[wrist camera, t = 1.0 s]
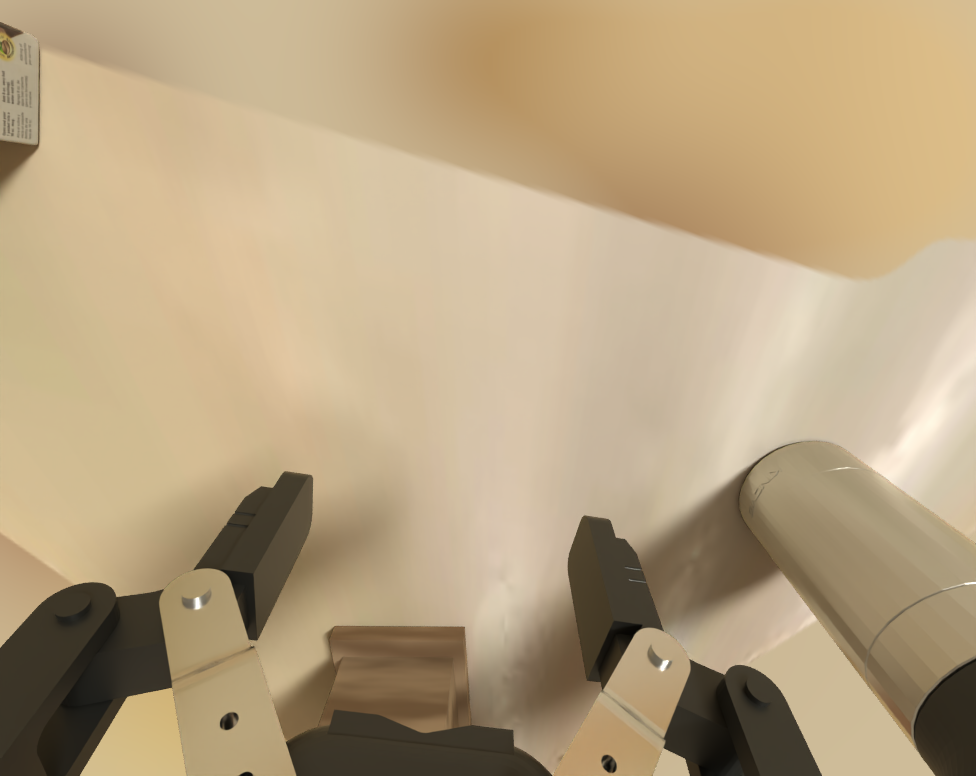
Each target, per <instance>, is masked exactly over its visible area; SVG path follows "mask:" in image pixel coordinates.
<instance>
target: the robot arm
mask: <svg viewBox="0 0 976 776" xmlns="http://www.w3.org/2000/svg"><path fill="white" fill-rule="evenodd" d="M312 503H313V477H312V475H307V474H300V473H294V472H287V471H285V472H284V473H283V474H282V475H281V477H280V478H279V480H278V481H277V483H276V484H275V486H274V487H273V488H269V487H262V486H261V487H260V488H258V489H257V490H255V491H254V492H252V493H251V494H249V495H248V496H246V497H245V498H244V500H243V501H242V503H241V504H240V505H239V507H238V508H237V510H236V511H235V514H233V515H232V517H231V518H230V519H229V521H228V522H227V525H226V526H224V528H223V529H222V531H221V532H220V533H219V535H218V536H217V538H216V539H215V540H214V542H213V543H212V545H211V546H210V548H209V549H208V550H207V552H206V553H205V555H204V556H203V557H202V559H201V560H200V562H199V563H198V564H197V566H196V567H195V568H194V570H193V571H190V572H187V573H185V574H183V575H181V576H179V577H177V578H176V579H174V580H173V581H172V582H171V583H169V585H168V586H167V587H166V588H165V589H163V590H160V591H156V592H151V593H145V594H137V595H130V596H122V597H116V594H115V592H114V590H113V589H112V588H111V587H109V586H108V585H106V584H103V583H94V582H90V583H82V584H77V585H74V586H71V587H68V588H66V589H63V590H61V591H59V592H57V593H55V594H53V595H52V596H50V597H49V598H47V599H46V600H45V601H44V602H42V603H41V604H40V605H39V606H38V607H37V608H36V609H35V610H34V611H33V612H32V614H31V615H30V616H29V617H28V618H27V619H26V620H25V621H24V622H23V624H22V625H21V626H20V627H19V628H18V629H17V630H16V631H15V632H14V634H13V635H12V636H11V637H10V638H9V639H8V640H7V641H6V642H5V643H4V644H3V645H2V647H1V648H0V776H80V774H81V772H82V771H83V769H84V767H85V766H86V764H87V762H88V761H89V759H90V757H91V756H92V754H93V752H94V751H95V749H96V748H97V746H98V744H99V743H100V741H101V739H102V737H103V736H104V734H105V733H106V731H107V729H108V727H109V726H110V724H111V723H112V721H113V719H114V718H115V716H116V714H117V713H118V711H119V709H120V708H121V706H122V704H123V703H124V701H125V699H126V698H127V697H128V696H132V695H137V694H143V693H147V692H153V691H158V690H163V689H167V688H172V689H173V694H174V701H175V707H176V713H177V719H178V725H179V732H180V738H181V744H182V750H183V756H184V762H185V768H186V774H187V776H552V775H551V774H550V772H549V771H548V770H547V769H546V768H545V767H544V766H543V765H542V764H541V763H540V762H538V761H537V760H536V759H535V758H533V757H532V756H531V755H529V754H528V753H526V752H524V751H523V750H521V749H519V748H517V747H515V746H514V739H513V730H506V729H498V728H489V727H481V726H472V725H469V726H463V727H458V728H452V729H446V730H441V731H435V732H429V733H422V732H419V731H416V730H414V729H412V728H409V727H407V726H404V725H402V724H400V723H397V722H395V721H393V720H390V719H388V718H386V717H383V716H381V715H377V714H369V713H360V712H351V711H343V710H334V712H333V716H332V719H331V723H330V725H326V726H321V727H317V728H314V729H311V730H308V731H306V732H304V733H301V734H299V735H297V736H295V737H294V738H292V739H290V740H288V741H287V742H286V741H285V738H284V735H283V732H282V729H281V726H280V723H279V719H278V716H277V713H276V710H275V707H274V704H273V700H272V697H271V694H270V691H269V688H268V685H267V682H266V678H265V675H264V672H263V669H262V666H261V663H260V659H259V656H258V654H257V651H256V649H255V647H254V646H253V647H251V645H250V642H249V640H256V641H257V640H258V638H259V636H260V634H261V632H262V630H263V628H264V626H265V624H266V622H267V619H268V617H269V615H270V613H271V611H272V609H273V607H274V605H275V603H276V601H277V599H278V597H279V594H280V592H281V590H282V588H283V586H284V584H285V582H286V580H287V578H288V576H289V574H290V572H291V569H292V567H293V565H294V563H295V561H296V559H297V557H298V555H299V553H300V551H301V549H302V547H303V544H304V542H305V540H306V538H307V536H308V533H309V530H310V526H311V521H312ZM739 508H740V512H741V515H742V518H743V520H744V521H745V523H746V524H747V526H748V527H749V528H750V530H751V531H752V532H753V534H754V535H755V536H756V538H757V539H758V540H759V542H760V543H761V544H762V546H763V547H764V548H765V550H766V551H767V552H768V554H769V555H770V557H771V558H772V559H773V561H774V562H775V563H776V565H777V566H778V567H779V569H780V570H781V571H782V573H783V574H784V575H785V577H786V578H787V579H788V581H789V582H790V583H791V585H792V586H793V587H794V589H795V590H796V591H797V593H798V594H799V595H800V597H801V598H802V599H803V601H804V602H805V603H806V605H807V606H808V607H809V609H810V610H811V611H812V612H813V614H814V615H815V616H816V618H817V619H818V620H819V622H820V623H821V624H822V626H823V627H824V628H825V630H826V631H827V632H828V634H829V635H830V636H831V638H832V639H833V640H834V642H835V643H836V644H837V646H838V647H839V648H840V650H841V651H842V652H843V653H844V655H845V656H846V658H847V659H848V660H849V661H850V663H851V664H852V666H853V667H854V668H855V670H856V671H857V672H858V673H859V675H860V676H861V678H862V679H863V680H864V681H865V683H866V684H867V686H868V687H869V688H870V689H871V691H873V693H874V694H875V696H876V697H877V698H878V700H879V701H880V702H881V704H882V705H883V706H884V707H885V709H886V710H887V711H888V713H889V714H890V715H891V717H892V718H893V719H894V721H895V722H896V724H897V725H898V726H899V728H900V729H901V730H902V732H903V733H904V734H905V735H906V737H907V738H908V739H909V741H910V742H911V743H912V745H913V746H914V747H915V749H916V750H917V751H918V752H919V753H920V755H921V757H922V758H923V760H924V761H925V762H926V763H927V765H928V766H929V767H930V769H931V770H932V771H933V773H934V774H935V776H976V543H974V542H973V541H972V540H970V539H969V538H968V537H966V536H965V535H963V534H962V533H961V532H959V531H958V530H956V529H955V528H954V527H952V526H951V525H950V524H948V523H947V522H945V521H944V520H943V519H941V518H940V517H938V516H937V515H936V514H934V513H933V512H931V511H930V510H929V509H927V508H926V507H925V506H923V505H922V504H920V503H919V502H918V501H916V500H915V499H913V498H912V497H911V496H909V495H908V494H906V493H905V492H904V491H902V490H901V489H899V488H898V487H897V486H895V485H894V484H893V483H891V482H890V481H889V480H887V479H886V478H885V477H883V476H882V475H880V474H879V473H878V472H876V471H875V470H873V469H872V468H871V467H869V466H868V465H866V464H865V463H864V462H862V461H861V460H859V459H858V458H857V457H855V456H854V455H852V454H851V453H850V452H848V451H847V450H845V449H843V448H842V447H840V446H837V445H834V444H831V443H828V442H820V441H808V442H800V443H795V444H791V445H788V446H785V447H783V448H781V449H778V450H776V451H774V452H773V453H771V454H770V455H768V456H766V457H765V458H763V459H762V460H761V461H760V462H759V463H758V464H757V465H756V466H755V467H754V468H753V469H752V470H751V472H750V473H749V474H748V476H747V477H746V479H745V481H744V483H743V486H742V488H741V492H740V497H739ZM641 569H642V568H641V565H640V562H639V560H638V557H637V554H636V552H635V551H634V550H633V549H632V547H631V546H630V545H629V544H628V542H627V541H626V540H625V539H620V538H616V537H615V534H614V530H613V527H612V524H611V521H610V520H609V519H605V518H598V517H592V516H583V517H582V519H581V521H580V524H579V527H578V530H577V533H576V536H575V538H574V541H573V544H572V547H571V550H570V553H569V558H568V576H569V581H570V587H571V593H572V599H573V604H574V610H575V616H576V622H577V627H578V633H579V639H580V644H581V650H582V656H583V662H584V667H585V673H586V679H587V680H588V681H596V682H601V686H602V691H601V692H600V694H599V696H598V697H597V699H596V701H595V703H594V704H593V706H592V708H591V710H590V711H589V713H588V715H587V717H586V718H585V720H584V722H583V723H582V725H581V727H580V729H579V730H578V732H577V734H576V736H575V737H574V739H573V741H572V743H571V744H570V746H569V748H568V750H567V751H566V753H565V755H564V757H563V758H562V760H561V762H560V763H559V765H558V767H557V769H556V770H555V772H554V774H553V776H653V773H654V771H655V768H656V766H657V763H658V760H659V758H660V755H661V753H662V750H663V748H664V749H666V750H668V751H671V752H673V753H675V754H677V755H679V756H681V757H683V758H685V759H686V763H687V766H688V770H689V774H690V776H822V775H821V773H820V771H819V768H818V766H817V764H816V762H815V760H814V758H813V756H812V754H811V752H810V750H809V748H808V745H807V743H806V741H805V739H804V737H803V735H802V733H801V731H800V729H799V726H798V724H797V722H796V720H795V718H794V716H793V714H792V712H791V710H790V708H789V706H788V703H787V702H786V699H785V698H784V696H783V694H782V693H781V691H780V690H779V689H778V687H777V686H776V685H775V684H774V683H773V682H772V681H771V680H770V679H769V678H768V677H766V676H765V675H764V674H762V673H761V672H759V671H757V670H755V669H753V668H751V667H748V666H744V665H735V666H732V667H731V668H729V670H728V671H727V672H726V674H725V675H723V674H721V673H719V672H716V671H714V670H712V669H710V668H707V667H705V666H703V665H700V664H698V663H696V662H694V661H692V660H690V659H689V657H688V655H687V653H686V651H685V650H684V648H683V647H682V646H681V644H680V643H679V642H678V641H677V640H676V639H675V638H673V637H672V636H671V635H669V634H667V633H666V632H664V630H663V628H662V625H661V622H660V619H659V617H658V614H657V611H656V608H655V605H654V602H653V599H652V597H651V594H650V591H649V588H648V585H647V584H646V580H645V577H644V574H643V572H642V571H641Z"/></svg>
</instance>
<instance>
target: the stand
mask: <svg viewBox="0 0 976 776" xmlns="http://www.w3.org/2000/svg"><path fill="white" fill-rule="evenodd" d="M329 643H330V647H331V652H332V657H333V662H334V667H335V672H336V678H335V681H334V684H333V686H332V689H331V692H330V695H329V697H328V700H327V703H326V706H325V708H324V711H323V714H322V717H321V719H320V722H319V725H318V727H321V726H326V725H330V723H331V719H332V716H333V712H334V710H343V711H351V712H360V713H369V714H377V715H381V716H383V717H386V718H388V719H390V720H393V721H395V722H397V723H400V724H402V725H404V726H407V727H409V728H412V729H414V730H416V731H419V732H422V733H429V732H435V731H441V730H446V729H452V728H458V727H463V726H469V725H471V713H470V698H469V683H468V669H467V654H466V639H465V627H375V626H335V627H334V629H333V632H332V634H331V637H330V639H329Z"/></svg>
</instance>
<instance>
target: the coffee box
mask: <svg viewBox="0 0 976 776" xmlns="http://www.w3.org/2000/svg"><path fill="white" fill-rule="evenodd" d="M38 107H39V43H38V40H37V39H36V38H35V36H33V35H31V34H29V33H26V32H24V31H21V30H18V29H16V28H13V27H11V26H9V25H6V24H4V23H1V22H0V140H1V141H7V142H14V143H22V144H28V145H37V144H38Z"/></svg>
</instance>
